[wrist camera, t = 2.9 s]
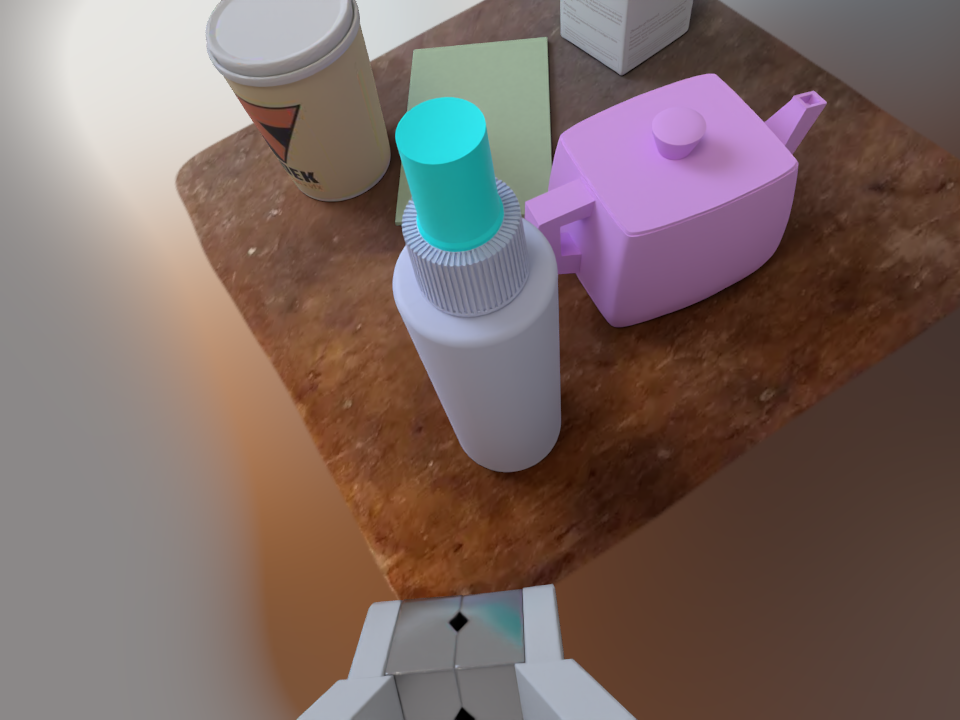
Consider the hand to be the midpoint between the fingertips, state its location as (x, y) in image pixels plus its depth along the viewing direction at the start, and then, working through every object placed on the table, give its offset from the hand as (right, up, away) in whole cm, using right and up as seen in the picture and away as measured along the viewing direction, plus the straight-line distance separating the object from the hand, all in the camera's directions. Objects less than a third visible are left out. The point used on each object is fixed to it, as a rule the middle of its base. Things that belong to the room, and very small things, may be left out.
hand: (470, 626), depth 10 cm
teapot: (+12, +12, +30) cm, 35 cm away
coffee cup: (-10, +19, +37) cm, 43 cm away
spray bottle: (+2, +1, +26) cm, 26 cm away
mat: (0, +22, +37) cm, 43 cm away
